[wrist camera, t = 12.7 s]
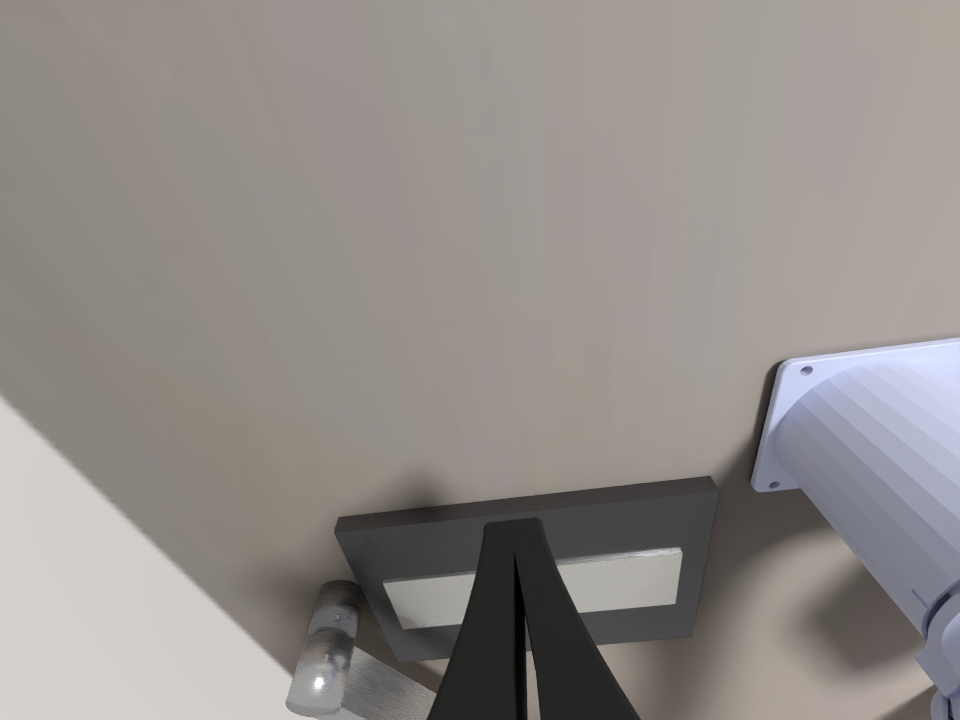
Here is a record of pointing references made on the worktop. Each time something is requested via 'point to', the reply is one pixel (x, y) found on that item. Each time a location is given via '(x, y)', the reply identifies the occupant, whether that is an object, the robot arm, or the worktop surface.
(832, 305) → the worktop surface
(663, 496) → the panel
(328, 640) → the swing arm
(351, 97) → the worktop surface
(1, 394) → the worktop surface
